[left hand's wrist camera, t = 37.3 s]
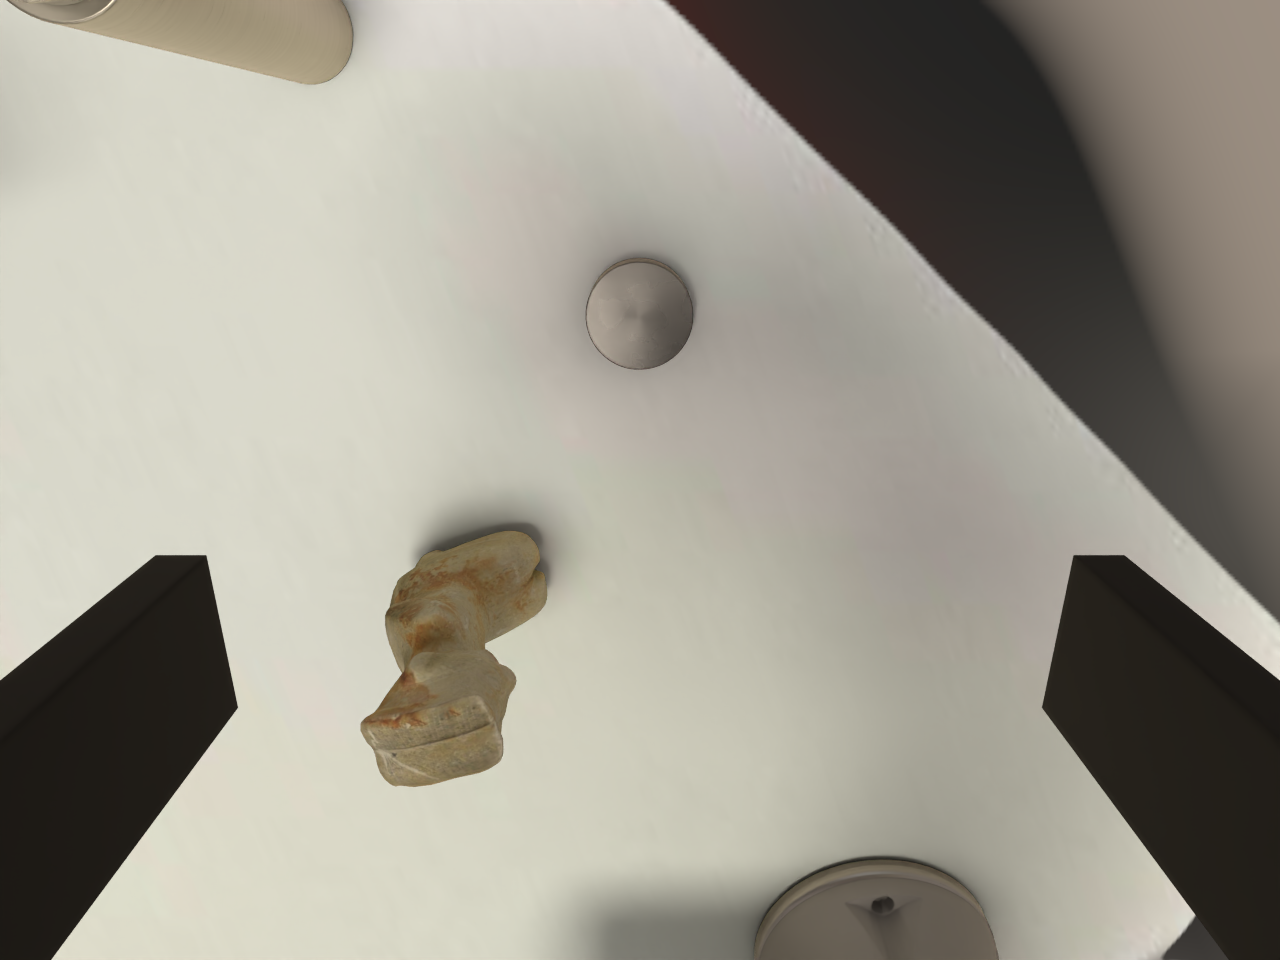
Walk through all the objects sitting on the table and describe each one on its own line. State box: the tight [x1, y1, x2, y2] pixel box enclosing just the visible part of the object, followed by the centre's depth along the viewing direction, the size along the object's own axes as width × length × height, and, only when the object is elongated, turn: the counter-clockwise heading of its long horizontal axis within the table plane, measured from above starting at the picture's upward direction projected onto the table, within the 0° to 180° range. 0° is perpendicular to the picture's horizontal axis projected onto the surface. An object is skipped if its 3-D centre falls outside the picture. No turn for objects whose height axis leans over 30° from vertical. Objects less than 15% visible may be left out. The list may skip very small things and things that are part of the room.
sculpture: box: [361, 531, 547, 787], centre depth 37 cm, size 6×7×15 cm
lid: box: [586, 258, 693, 370], centre depth 39 cm, size 5×5×2 cm
